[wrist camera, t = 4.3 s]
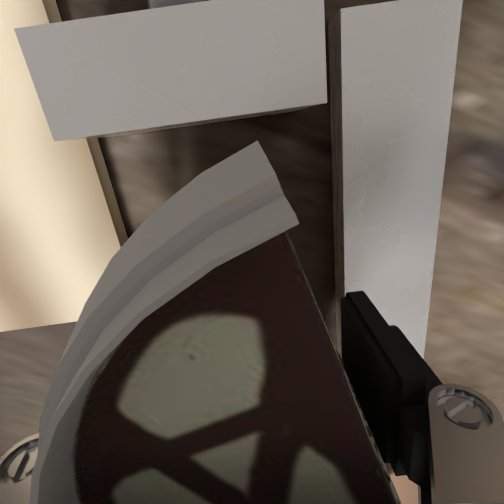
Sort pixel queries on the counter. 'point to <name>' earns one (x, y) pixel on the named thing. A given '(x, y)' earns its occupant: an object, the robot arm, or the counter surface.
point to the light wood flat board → (47, 196)
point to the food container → (207, 366)
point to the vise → (285, 109)
